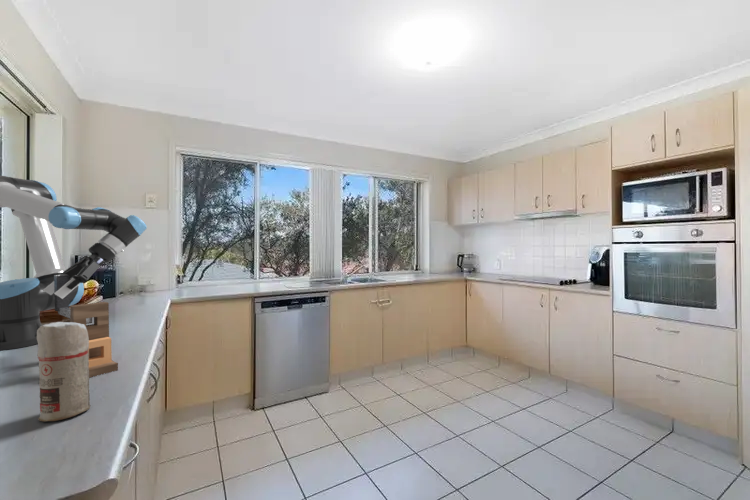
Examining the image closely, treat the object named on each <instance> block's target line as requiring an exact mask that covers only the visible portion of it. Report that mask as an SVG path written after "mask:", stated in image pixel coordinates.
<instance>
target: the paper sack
mask: <svg viewBox="0 0 750 500" xmlns="http://www.w3.org/2000/svg"><path fill="white" fill-rule="evenodd" d="M37 341H38V344H37V346H38V347H37V359H38V372H39V373H38V374H39V375H38V376H39V379H38V380H39V383H38V384H39V385H38V386H39V411H40V412H39V416H38V421H39V422H57V421H62V420H66V419H69V418H72V417H75V416H77V415H79V414H82V413H84V412H86V411H88V410H89V409H91V404H90V400H91V399H90V394H91V393H90V378H89V351H88V348H89V337H88V332H87V329H86V327H85V325H84V324H80V323H75V322H62V321H57V322H50V323H45V324H42V326H40V328H39V329H38V330H37Z"/></svg>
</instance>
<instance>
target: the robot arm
mask: <svg viewBox="0 0 750 500" xmlns="http://www.w3.org/2000/svg"><path fill="white" fill-rule="evenodd" d="M0 208H8V209H11V214H12V215H13V216H15V217H17V218H19V221H20V224H21V228H22V231H23V235H24V237H25V241H26V245H27V249H28V251H29V255H30V257H31V261H32V264H33V267H34V271H35V275H34V277H27V278H26V277H24V278H17V279H10V280H4V281H2V282H1V281H0V351H4V350H6V351H7V350H13V349H21V348H26V347H30V346H34V345H38V341H37V330H38V329H39V328H40V326H43V324H42V322H41V320H40V313H41V312H43V311H44V312H45V311H48V310H55V298H54V294H55V295H57V296H59V297H60V298H62V299H63V298H64V297H65V296H67V295H68V294H69V307H70V306H73V305H77V303H79V302H80V300H81V299H82V297H83V295H84V293H85V287H84V285H85V284H84V283H86V282H87V281H88V280H89V279H90V278H91V277H92V276H93V274H94V273H95V272H96V271H98V269H99V268H100V267H101V266H102V265H103V264H104V263H107V264H108V263H110V262H111V261H112V260H113V259H114V258H115V257H116V255H119V254H120V253H121V252H122V253H123V252H124V251H125V249H126V247H128V246H129V245H130V244H132V243H133V242H134V241H135V240H136V239H137V238H139V237H140V236H141V235H142V234H143V233H144V232H145V231H146V230H147V228H148V226H147V224H146V223H145V222H144V220H142V218H140V217H138V216H137V215H133V214H131V215H129V216H126V217H123V216H121V215H119V214H117V213H115V212H113V211H112V210H109V209H107V208H104V207H102V206H101V207H99V206H98V207H95V208H92V209H90V208H89V209H88V208H79V207H75V206H71V205H69V204H67V203H66V204H65V203H63V202H59V201H57V194H56V192H55V190H54V189H53V188H52V187H51V186H50V185H49V184H47V183H45V182H41V181H38V180H34V179H24V178H23V179H22V178H18V177H11V176H6V175H0ZM54 228H56V229H57V228H58V229H64V230H86V231H87V230H88V231H89V230H90V231H91V230H92V231H93V230H94V231H103V232H104V231H105V232H107V233H105V235H104V236H102V237H101V238H100V239H99V240H98V242H95V243H93V245H92V246H90V247H89V248H88V252H89V253H90V254H91V255H89V256H88V255H84V256H83V257H82V258H80V260H79V261H77V262H75V263H74V264H73V265H71V266H70V267H68V268H66V267H65V264H64V260H63V258H62V257H63V256H62V253H61V251H60V247H59V244H58V240H57V237H56V234H55V231H54ZM65 274H66V275H69V281H68V282H67V283H66V284H65V285H64V286H62V287H61V288H60V289H59V290H58V291H56V292H55V293H54V275H65Z"/></svg>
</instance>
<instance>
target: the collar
mask: <svg viewBox="0 0 750 500" xmlns="http://www.w3.org/2000/svg"><path fill="white" fill-rule="evenodd" d="M100 346H101V356H98V357H93V358H89V367H92V366H96V365H101V364H105V363H109V362H112V361H113V360H112V359H113V357H112V356H113V355H112V337H110V336H109V337H104V338H99V339H94V340H89V348H88V351H89V349H91V348H96V347H100Z"/></svg>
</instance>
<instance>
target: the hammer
mask: <svg viewBox="0 0 750 500" xmlns="http://www.w3.org/2000/svg"><path fill="white" fill-rule="evenodd" d="M68 281H69V275H66V274H65V275H54V293H55V292H56V291H58V290H59V289H60V288H61V287H62V286H64V285H65V284H66V283H67V282H68ZM54 298H55V309H54V312H57V315H60V316H63V317H65V318H66V319H70V306H69V294H68V295H67V296H65V297H64V298H63V299H62V298H60V297H59V296H57V295H55V294H54ZM90 324H93V317H92V318H86V325H90Z"/></svg>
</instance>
